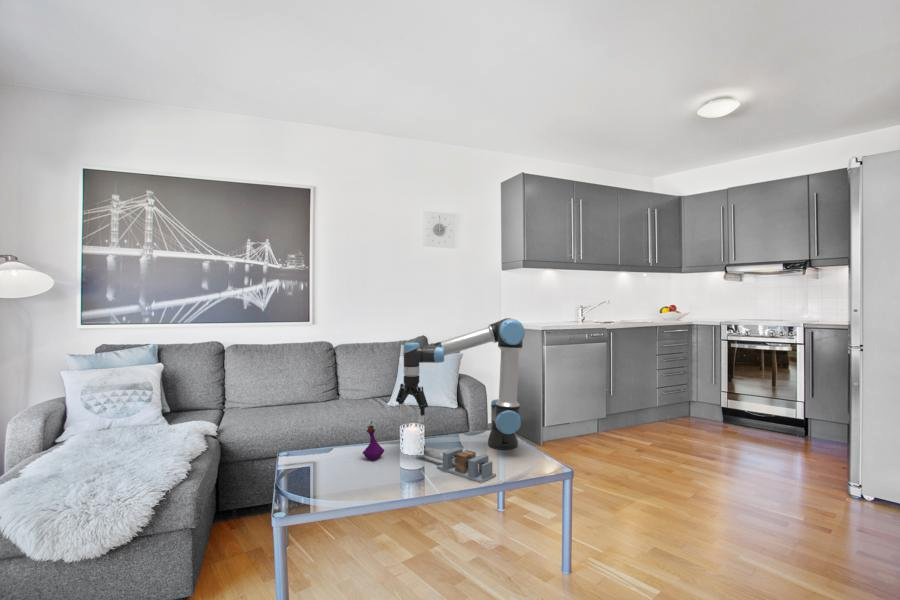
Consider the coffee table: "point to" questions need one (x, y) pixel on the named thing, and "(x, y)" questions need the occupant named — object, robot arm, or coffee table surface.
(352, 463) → the coffee table surface
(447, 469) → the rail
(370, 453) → the perfume bottle
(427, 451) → the shaft
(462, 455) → the spacer
